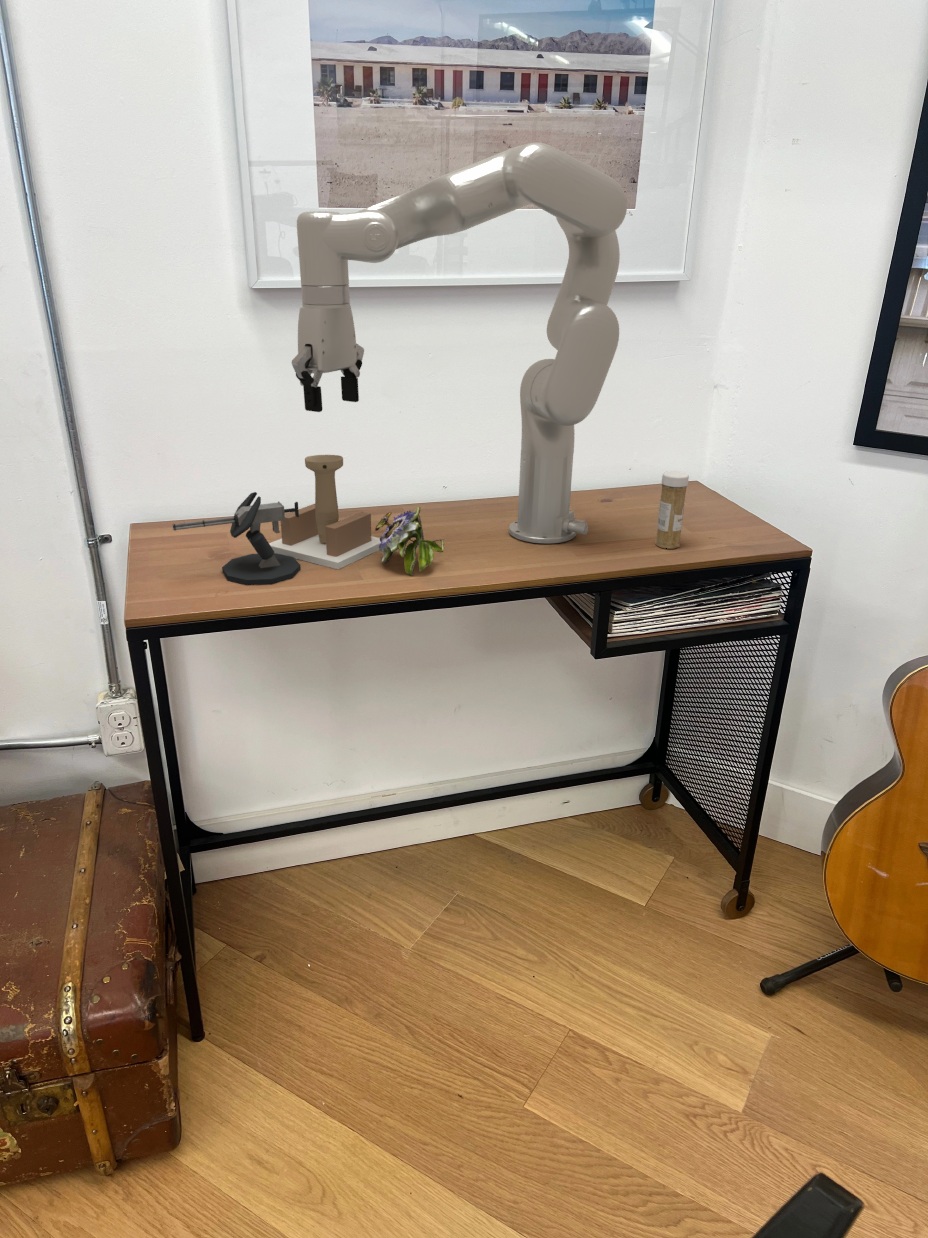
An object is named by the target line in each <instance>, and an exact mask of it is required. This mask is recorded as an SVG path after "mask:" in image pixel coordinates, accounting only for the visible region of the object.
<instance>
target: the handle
mask: <svg viewBox="0 0 928 1238" xmlns="http://www.w3.org/2000/svg"><path fill="white" fill-rule="evenodd" d="M304 466H305V467H306V468H307V469H308V470H309V471H312V472H313V474H314V480H315V481H314V490H315V491H314V495H315V496H314V498H315V499H314V500H315V503H314V504H315V516H316V524H317V530H318V533H319V540H320V542H321V543H326V529H325V527H326V526H328V525H331V524H333V523H336V522H338V521H340V520H339V505H338V504H339V503H338V496H337V488H336V487H337V486H336V472H337V471H338V470H340V469H341V468H342V467H343V466H344V457H343V456H342V455H338V454H337V455H336V454H316V455H309V456H306V457H305V458H304Z"/></svg>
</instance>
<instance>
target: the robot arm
mask: <svg viewBox="0 0 928 1238" xmlns="http://www.w3.org/2000/svg"><path fill="white" fill-rule="evenodd" d="M626 195H627V194H626V192H625V191H624V189H623V187H622V186H621V183H618V181H616V180H615V179H614V178H613V177H611V176H610V175H608V174H606V173H604V172H602V171H600V170H598V169H597V168H594V167H593V166H591V165H589V164H587V163H585V162H584V161H581V160H579V159H577V158H575V157H574V156H571V155H569V154H568V153H566V152H564V151H562V150H560V149H558V148H557V147H554V146H552V145H551V144H547V143H544V142H540V141H536V142H528V143H526V144H521V145H520V144H519V145H517V146H515V147H511V148H509V149H506V150H504V151H501V152H499V153H496V154H493V155H492V156H489V157H486V158H484V159H482V160H479V161H475V162H473V163H471V164H468V165H466V166H464V167H461V168H459V169H455V170H453V171H450V172H448V173H445V174H443V175H440V176H439V177H435V178H433V179H432V180H429V181H427V182H426V183H424V184H422V185H420V186H419V187H416V188H414V189H411V190H409V191H406V192H404V193H402V194H399V195H397V196H394V197H390V198H389V199H386V200H384V201H382V202H379V203H375V204H374V205H370V206H368V207H365V208H363V209H361V210H358V211H356V212H348V213H340V212H338V211H321V210H318V211H304V212H302V213H299V215H298V216H297V219H296V234H297V245H298V246H297V247H298V261H299V274H300V276H299V277H300V288H301V290H300V291H301V301H302V302H301V303H302V307H299V313H298V320H297V321H298V323H297V355H296V356H294V358H293V359H292V360H291V365H292V368H293V370H294V372H295V377H296V378H297V380H298V381H299V384H300V386H301V387H303V399H304V400H303V401H304V410H305V411H307V412H313V413H314V412H315V413H321V412H322V411H323V396H322V387H321V386H319V383H320V381H321V380H322V379H321V378H322V376H323V374H328V373H332V372H337V371H340V372H341V373H342V375H343V376H340V388H341V389H340V390H341V400H342V401H344V402H349V403H350V402H351V403H358V402H360V401H359V400H360V396H359V394H360V393H359V377H360V375H361V372H360V370H361V369H362V367H363V358H364V355H365V349H364V347H362V346H361V345H359V344H358V343H357V339H356V330H355V322H354V316H353V312H352V307H351V300H350V298H351V297H350V282H349V281H350V279H349V277H350V276H349V261H354V262H364V263H371V264H378V263H382V262H384V261H387V260H388V259H389V258H391V256H393V255H394V254H395V251H396V250H398V249H400V248H403V247H406V246H409V245H411V244H414V243H417V242H419V241H420V242H421V241H423V240H426V239H430V238H434V237H441V236H449V235H453V234H454V235H455V234H457V233H460V232H463V231H466V230H467V231H468V229H471V228H473V227H476V226H478V225H479V226H480V225H481V224H483V223H486V222H489V221H491V220H493V219H496V218H498V217H501V216H503V215H506V214H509V213H511V212H513V211H515V210H518V209H520V208H523V207H527V206H529V205H533V206H536V207H537V208H539V209H540V210H543V211H545V212H546V213H548V214H550V215H551V216H554V217H555V219H556V221H557V223H558V225H559V227H560V229H562V231H563V233H564V235H565V238H566V240H567V244H568V259H567V265H566V267H565V272H564V275H563V278H562V282H561V284H560V287H559V289H558V293H557V295H556V297H555V298H556V299H555V300H554V301H555V302H554V303H553V307H552V309H551V312H550V313H549V314H550V315H549V317H548V320H547V325H546V337H547V340H548V342H549V343H550V345H551V346H552V347H553V348H554V349H556V351H557V352H556V355H555V357H554V358H545V359H540V360H537V361H536V362H534V363H533V364H531V365H530V366H529V367H528V369H527V370H526V371H525V372H524V374H523V377H522V379H521V383H520V387H519V388H520V390H519V402H520V404H519V405H520V413H521V414H520V415H521V441H520V442H521V443H520V444H521V445H520V447H521V448H520V457H519V458H520V462H519V485H518V504H517V506H518V507H517V508H518V509H517V519H516V520H515V521H513V522H511V523H510V524H509V525H508V526H509V527H508V533H509V534H510V536H512V537H514V538H516V539H517V540H520V541H524V542H527V543H533V544H549V545H550V544H560V543H566V542H568V541H571V540H572V539H574V538H576V536H577V534H580V535H585V536H586V535H587V533H588V531H589V525H588V522H587V520H582V519H576V517H575V511H574V510H571V508H570V505H571V494H572V490H571V489H572V479H573V463H574V452H575V426H576V425H577V424H580V423H582V422H583V421H584V420H585V419H586V418H587V417H588V416H589V415H590V414H591V412H592V411H593V409H594V408H595V405H596V404H597V402H598V400H599V397H600V395H601V394H600V393H601V391H602V389H603V386H604V383H605V381H606V378H607V376H608V373H609V371H610V368H611V365H612V363H613V360H614V357H615V354H616V352H617V349H618V345H619V341H620V323H619V320H618V318H617V315H616V314H615V311H614V310H612V308H611V307H610V306H608V305H609V302H610V298H611V296H612V292H613V289H614V288H613V287H614V285H615V283H616V279H617V276H618V271H619V265H620V255H621V254H620V244H619V239H618V236H617V232H616V231H617V229H619V228H620V226H621V225H622V224H623V222H624V220H625V218H626V215H627V210H628V200H627V196H626ZM312 374H313V376H312Z"/></svg>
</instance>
